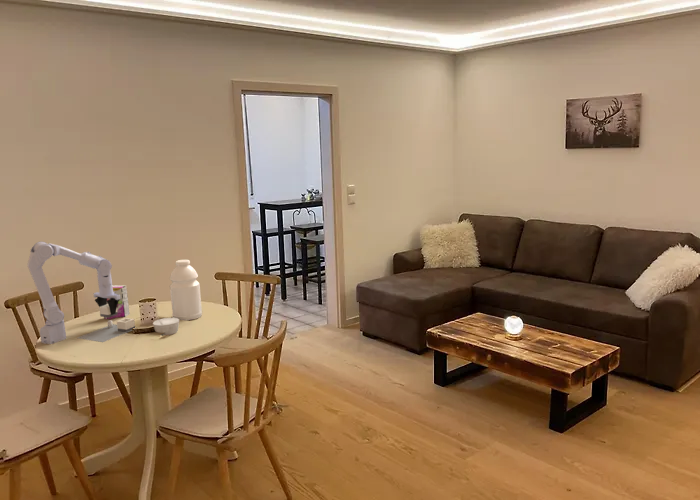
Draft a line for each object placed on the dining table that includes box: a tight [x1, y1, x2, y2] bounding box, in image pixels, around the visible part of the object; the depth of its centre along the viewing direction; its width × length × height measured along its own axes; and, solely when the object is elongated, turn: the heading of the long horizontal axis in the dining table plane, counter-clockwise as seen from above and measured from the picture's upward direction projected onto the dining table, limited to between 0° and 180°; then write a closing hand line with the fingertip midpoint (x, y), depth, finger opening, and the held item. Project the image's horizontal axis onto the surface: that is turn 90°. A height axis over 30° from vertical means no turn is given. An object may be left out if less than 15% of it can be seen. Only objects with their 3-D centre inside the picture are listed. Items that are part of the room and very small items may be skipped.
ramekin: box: [152, 317, 180, 337], centre depth 256 cm, size 11×11×5 cm
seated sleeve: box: [116, 317, 136, 333], centre depth 256 cm, size 5×5×4 cm
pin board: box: [76, 320, 133, 343], centre depth 253 cm, size 20×16×4 cm
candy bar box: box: [103, 284, 131, 321], centre depth 278 cm, size 11×5×16 cm, turn 84°
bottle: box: [169, 259, 203, 321], centre depth 276 cm, size 14×14×28 cm
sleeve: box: [98, 304, 118, 318], centre depth 260 cm, size 5×5×4 cm
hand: (108, 313), depth 260 cm, fingers closed on sleeve, 5 cm apart
